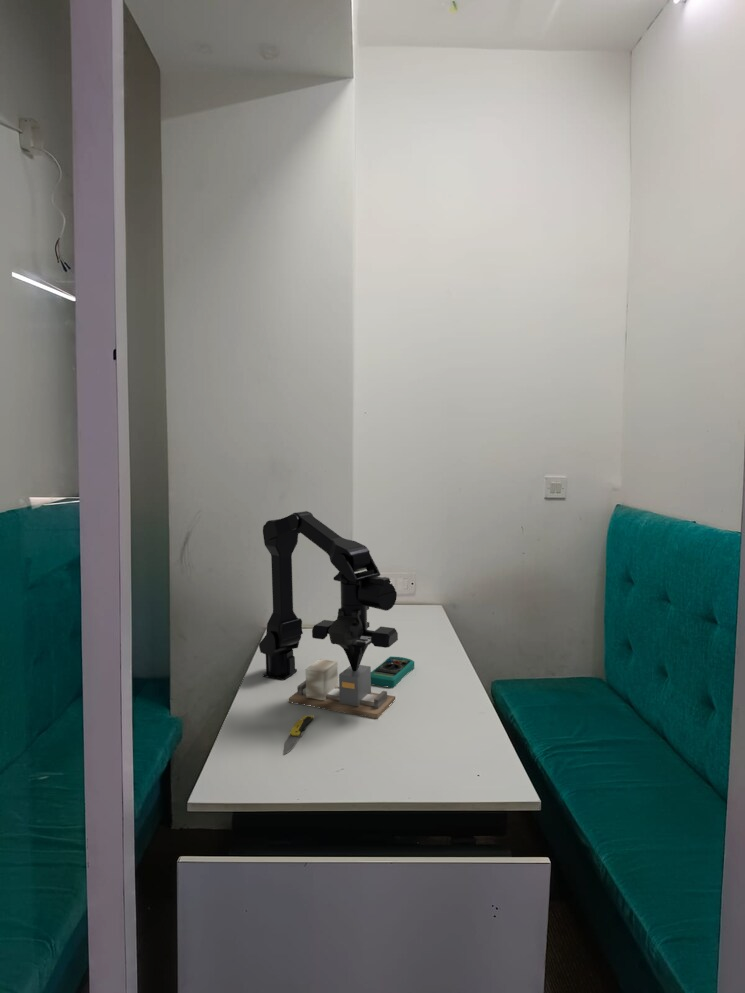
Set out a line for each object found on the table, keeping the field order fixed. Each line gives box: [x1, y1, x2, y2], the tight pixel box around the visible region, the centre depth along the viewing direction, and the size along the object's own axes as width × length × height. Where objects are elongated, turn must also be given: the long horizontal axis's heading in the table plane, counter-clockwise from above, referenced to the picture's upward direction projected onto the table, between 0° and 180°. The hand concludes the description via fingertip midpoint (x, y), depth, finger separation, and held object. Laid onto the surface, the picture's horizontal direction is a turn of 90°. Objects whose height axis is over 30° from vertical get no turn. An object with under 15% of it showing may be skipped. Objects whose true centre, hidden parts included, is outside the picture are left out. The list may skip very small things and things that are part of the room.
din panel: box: [288, 658, 396, 720], centre depth 147 cm, size 22×10×8 cm, turn 66°
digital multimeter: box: [371, 656, 415, 688], centre depth 163 cm, size 7×15×3 cm, turn 155°
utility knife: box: [283, 714, 314, 755], centre depth 132 cm, size 16×1×3 cm
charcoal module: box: [338, 664, 372, 706], centre depth 146 cm, size 4×7×7 cm, turn 156°
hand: (355, 670), depth 146 cm, fingers closed, pressing on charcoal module
